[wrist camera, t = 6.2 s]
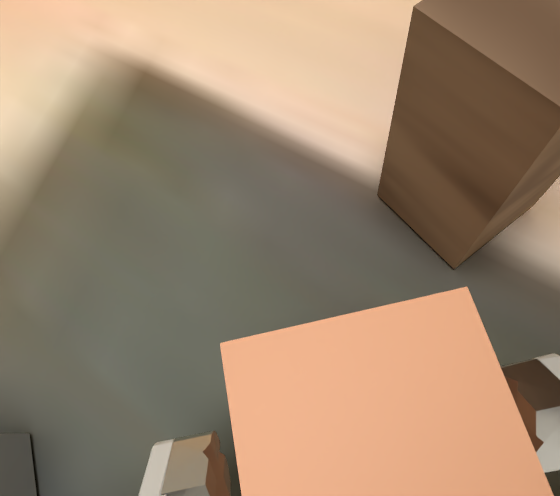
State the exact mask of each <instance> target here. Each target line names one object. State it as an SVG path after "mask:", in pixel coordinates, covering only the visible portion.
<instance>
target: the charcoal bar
mask: <svg viewBox="0 0 560 496" xmlns="http://www.w3.org/2000/svg"><path fill="white" fill-rule="evenodd" d="M0 496H37V493H36V485H35V476H34V468H33V459H32V451H31V442H30V434H29V433H0Z"/></svg>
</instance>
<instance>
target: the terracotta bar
mask: <svg viewBox="0 0 560 496" xmlns="http://www.w3.org/2000/svg"><path fill="white" fill-rule="evenodd" d="M220 347H221V354H222V361H223V368H224V375H225V382H226V389H227V396H228V403H229V410H230V417H231V424H232V431H233V438H234V446H235V453H236V460H237V467H238V474H239V481H240V488H241V495H242V496H554V495H553V493H552V490H551V488H550V485H549V483H548V481H547V478H546V476H545V473H544V471H543V469H542V466H541V464H540V461H539V459H538V456H537V454H536V452H535V449H534V447H533V444H532V442H531V439H530V437H529V435H528V432H527V430H526V427H525V425H524V423H523V420H522V418H521V415H520V413H519V410H518V408H517V406H516V403H515V401H514V398H513V396H512V394H511V391H510V389H509V386H508V384H507V381H506V379H505V377H504V374H503V372H502V369H501V367H500V364H499V362H498V360H497V357H496V355H495V352H494V350H493V348H492V345H491V343H490V340H489V338H488V335H487V333H486V331H485V328H484V326H483V323H482V321H481V319H480V316H479V314H478V311H477V309H476V306H475V304H474V302H473V299H472V297H471V294H470V292H469V289H468V287H464V288H459V289H455V290H450V291H446V292H442V293H437V294H433V295H429V296H424V297H420V298H415V299H411V300H407V301H402V302H398V303H394V304H389V305H385V306H380V307H376V308H372V309H367V310H363V311H359V312H354V313H350V314H345V315H341V316H337V317H332V318H328V319H324V320H319V321H315V322H310V323H306V324H302V325H297V326H293V327H289V328H284V329H280V330H275V331H271V332H267V333H262V334H258V335H254V336H249V337H245V338H240V339H236V340H232V341H227V342H223V343H220Z"/></svg>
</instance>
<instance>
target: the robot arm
mask: <svg viewBox="0 0 560 496" xmlns="http://www.w3.org/2000/svg"><path fill="white" fill-rule="evenodd" d="M500 367H501V369H502V372H503V374H504V377H505V379H506V381H507V384H508V386H509V389H510V391H511V394H512V396H513V398H514V401H515V403H516V406H517V408H518V410H519V413H520V415H521V418H522V420H523V423H524V425H525V427H526V430H527V432H528V435H529V437H530V439H531V442H532V444H533V447H534V449H535V452H536V454H537V456H538V459H539V461H540V464H541V466H542V469H543V471H544V473H546V472H551V471H557V470H560V356H559V355H557V354H554V353H553V354H549V355H545V356H540V357H536V358H533V359H529V360H525V361H521V362H516V363H512V364H508V365H503V366H500ZM219 450H220V440H219V438H218V435H217V433H216V432H215V431H209V432H204V433H199V434H194V435H189V436H184V437H179V438H175V439H171V440H166V441H161V442H156V443H155V445H154V446H153V447H152V450H151V454H150V457H149V461H148V464H147V467H146V471H145V474H144V478H143V481H142V485H141V488H140V492H139V495H138V496H230V493H231V482H230V472H229V467H228V463H227V460H226V457H225V455H223V454H222V453H220V452H219Z"/></svg>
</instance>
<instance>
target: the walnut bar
mask: <svg viewBox="0 0 560 496" xmlns="http://www.w3.org/2000/svg"><path fill="white" fill-rule="evenodd" d="M559 176H560V0H422V1H421V2H419V3H418V4H416V5H415V6H414V7H413V12H412V17H411V22H410V27H409V33H408V38H407V43H406V48H405V53H404V59H403V64H402V69H401V74H400V80H399V85H398V90H397V95H396V100H395V106H394V111H393V116H392V121H391V126H390V132H389V137H388V142H387V147H386V152H385V158H384V163H383V168H382V173H381V179H380V184H379V189H378V194H377V195H378V196H379V197H380V198H381V199H382V200H383V201H384V202H385V203H386V204H388V205H389V206H390V207H391V208H392V209H393V210H394V211H395V212H396V213H397V214H398V215H399V216H400V217H401V218H402V219H403V220H404V221H405V222H406V223H407V224H408V225H409V226H410V227H411V228H412V229H413V230H414V231H415V232H416V233H417V234H418V235H419V236H421V237H422V238H423V239H424V240H425V241H426V242H427V243H428V244H429V245H430V246H431V247H432V248H433V249H434V250H435V251H436V252H437V253H438V254H439V255H440V256H441V257H442V258H443V259H444V260H445V261H446V262H447V263H448V264H449V265H450V266H451V267H452V268H454V269H455V268H456V267H457V266H459V265H460V264H461V263H462V262H464V261H465V260H466V259H467V258H469V257H470V256H471V255H472V254H474V253H475V252H476V251H477V250H479V249H480V248H481V247H482V246H484V245H485V244H486V243H487V242H488V241H490V240H491V239H492V238H493V237H495V236H496V235H497V234H498V233H500V232H501V231H502V230H503V229H505V228H506V227H507V226H508V225H510V224H511V223H512V222H513V221H515V220H516V219H517V218H518V217H520V216H521V215H522V214H523V213H525V212H526V211H527V210H528V209H530V208H531V207H532V206H533V205H534V204H535V203H536V202H537V201H538V200H539V198H540V197H541V196H542V195H543V194H544V193H545V192H546V191H547V189H548V188H549V187H550V186H551V185H552V184H553V183H554V182H555V180H556V179H557V178H558V177H559Z"/></svg>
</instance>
